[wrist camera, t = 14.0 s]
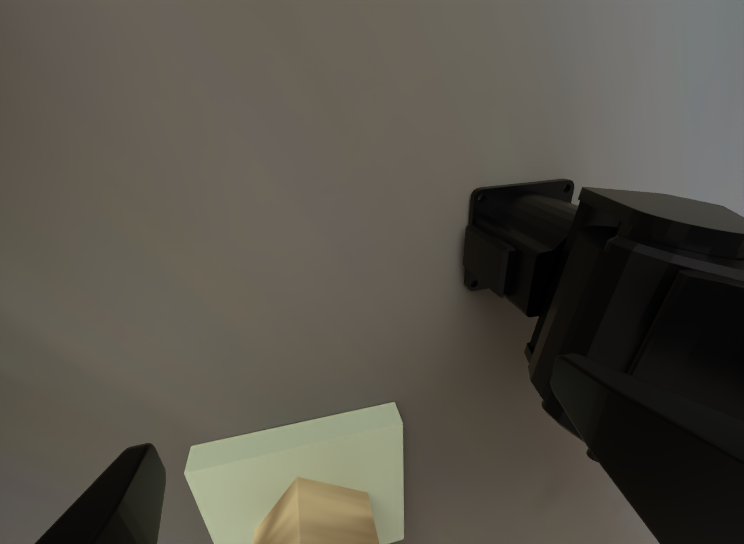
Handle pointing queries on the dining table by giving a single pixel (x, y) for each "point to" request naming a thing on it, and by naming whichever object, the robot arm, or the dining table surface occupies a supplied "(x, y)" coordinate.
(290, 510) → the oak brick
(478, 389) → the dining table surface
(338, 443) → the sage baseplate
